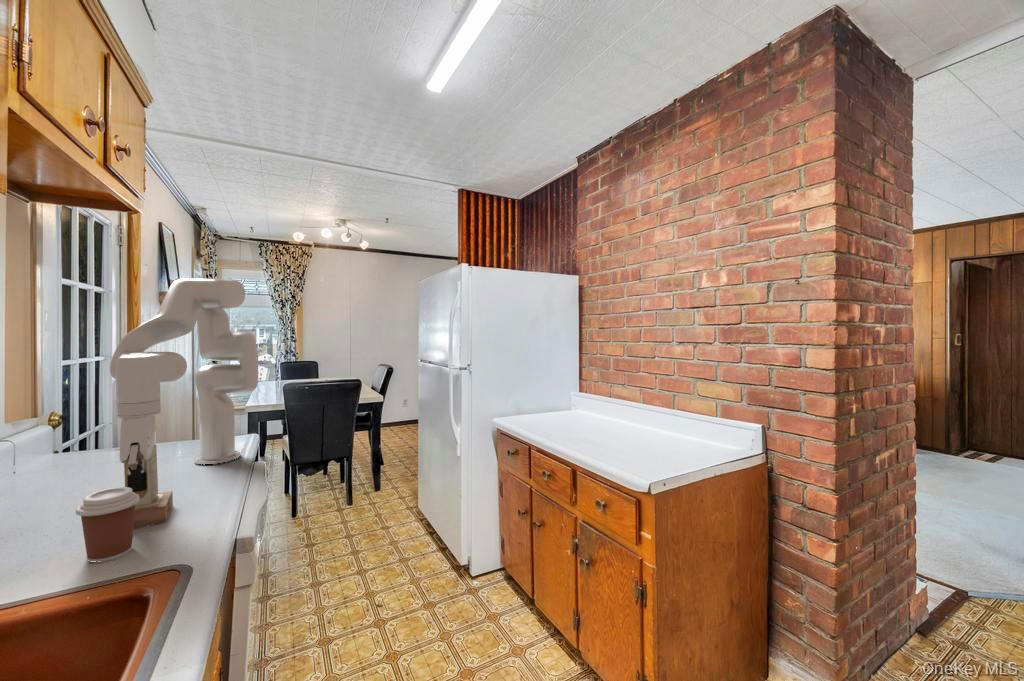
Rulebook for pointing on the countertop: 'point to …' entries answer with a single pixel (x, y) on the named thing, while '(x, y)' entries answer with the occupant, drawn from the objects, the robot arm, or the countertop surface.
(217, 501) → the countertop surface
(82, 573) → the countertop surface
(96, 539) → the coffee cup
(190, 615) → the countertop surface
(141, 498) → the skincare box
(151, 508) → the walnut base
